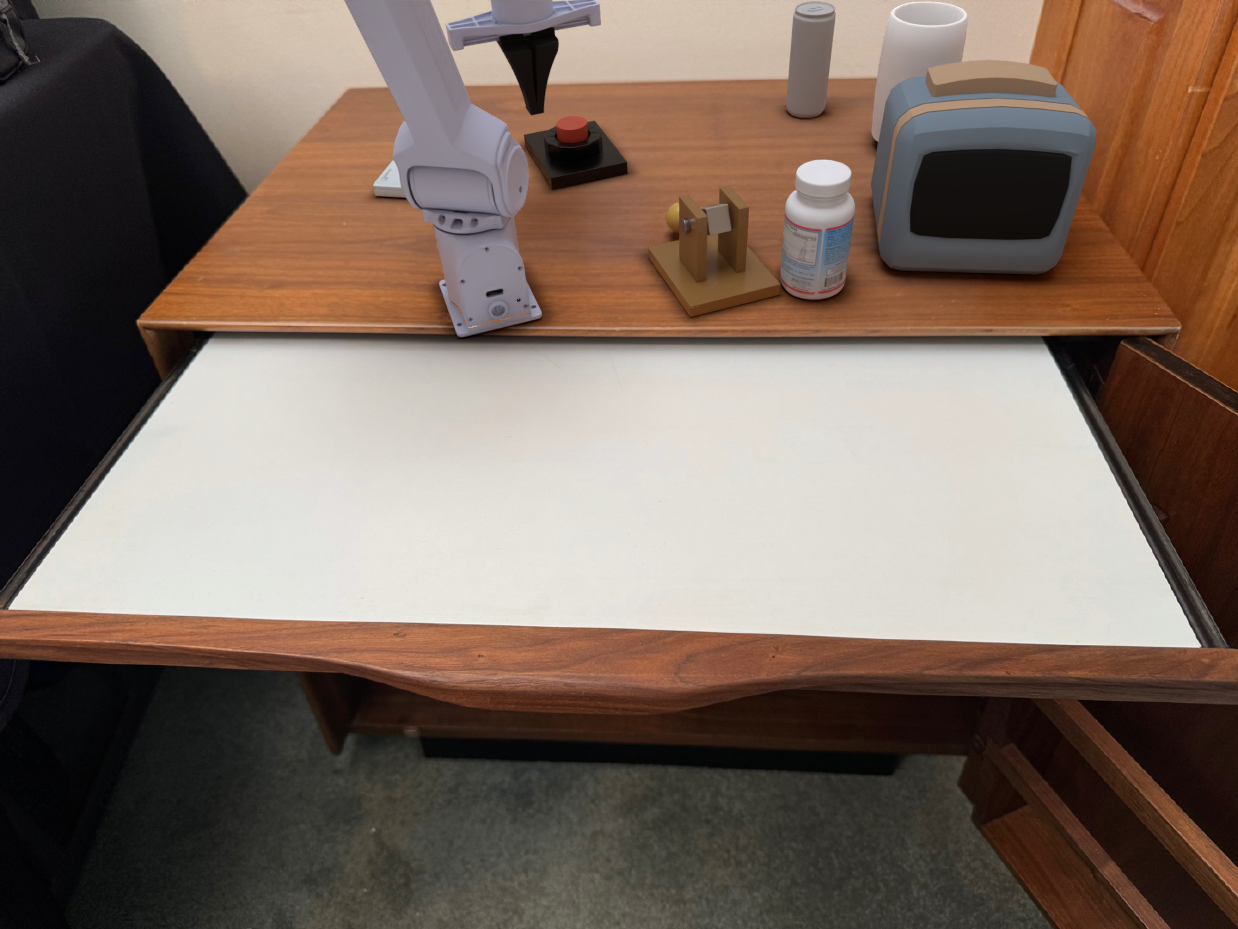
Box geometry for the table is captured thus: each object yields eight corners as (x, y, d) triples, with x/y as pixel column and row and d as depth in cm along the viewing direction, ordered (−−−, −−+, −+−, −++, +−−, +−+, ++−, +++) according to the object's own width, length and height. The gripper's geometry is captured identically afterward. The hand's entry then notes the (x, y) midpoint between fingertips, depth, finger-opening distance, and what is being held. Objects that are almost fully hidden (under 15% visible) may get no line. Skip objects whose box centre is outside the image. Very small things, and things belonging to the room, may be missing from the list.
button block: (627, 173, 100) (626, 148, 98) (552, 189, 99) (549, 164, 96) (595, 131, 108) (593, 107, 106) (525, 145, 107) (521, 121, 105)
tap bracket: (648, 257, 88) (645, 184, 82) (731, 237, 89) (734, 165, 84) (690, 317, 80) (690, 241, 75) (779, 294, 82) (786, 219, 76)
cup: (854, 135, 104) (872, 6, 94) (919, 123, 105) (944, -5, 95) (888, 166, 98) (912, 32, 88) (957, 154, 99) (987, 20, 89)
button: (592, 140, 101) (591, 125, 100) (562, 146, 100) (560, 131, 99) (583, 128, 103) (581, 113, 102) (553, 134, 102) (552, 119, 101)
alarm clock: (876, 277, 83) (907, 110, 72) (866, 192, 94) (891, 37, 83) (1060, 283, 81) (1120, 112, 70) (1026, 195, 92) (1074, 36, 81)
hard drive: (371, 184, 98) (476, 190, 96) (399, 150, 104) (499, 155, 102) (375, 198, 100) (479, 203, 97) (403, 164, 105) (501, 168, 103)
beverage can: (778, 108, 110) (785, 5, 102) (810, 99, 112) (820, -3, 103) (799, 122, 107) (809, 17, 99) (832, 113, 108) (845, 9, 100)
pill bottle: (836, 263, 85) (852, 152, 77) (850, 300, 81) (868, 186, 73) (773, 268, 85) (782, 157, 77) (784, 304, 81) (795, 191, 73)
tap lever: (664, 234, 90) (659, 205, 89) (691, 228, 91) (686, 198, 90) (706, 240, 79) (700, 206, 78) (736, 232, 80) (731, 199, 79)
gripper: (580, -63, 83) (591, 82, 93) (429, -39, 81) (456, 108, 90) (603, -43, 79) (612, 108, 88) (444, -17, 76) (471, 136, 85)
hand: (535, 110), depth 89 cm, fingers closed
